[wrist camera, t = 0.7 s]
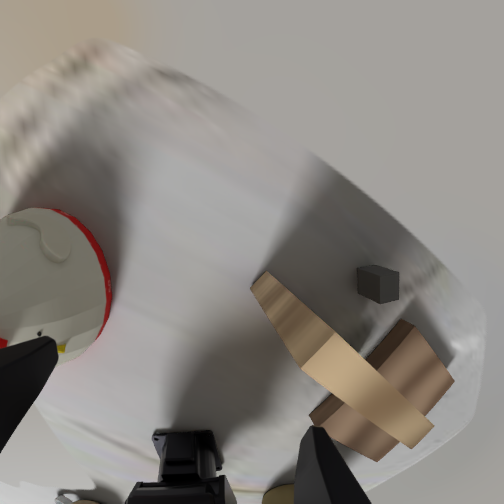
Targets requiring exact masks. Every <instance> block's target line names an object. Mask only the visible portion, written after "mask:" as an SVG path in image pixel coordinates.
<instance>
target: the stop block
mask: <svg viewBox="0 0 504 504" xmlns="http://www.w3.org/2000/svg"><path fill="white" fill-rule="evenodd" d="M357 274H358V293H359V294H361V295H363V296H365V297H367V298H369V299H371V300H373V301H375V302H377V303H379V304H383V303H387V302H391V301H395V300H399V272H397V271H393V270H390V269H387V268H383V267H380V266H377V265H372V266H366V267H360V268H357Z"/></svg>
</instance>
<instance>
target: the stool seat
mask: <svg viewBox="0 0 504 504" xmlns="http://www.w3.org/2000/svg"><path fill="white" fill-rule="evenodd" d="M366 361H367V362H368V363H369V364H370V365H371V366H372V367H373V368H374V369H375V370H376V371H377V372H378V373H379V374H380V375H382V376H383V377H384V378H385V379H386V380H387V381H388V382H389V383H390V384H391V385H392V386H393V387H394V388H395V389H396V390H397V391H398V392H399V393H400V394H402V395H403V396H404V397H405V398H406V399H407V400H408V401H409V402H410V403H411V404H412V405H413V406H414V407H415V408H416V409H417V410H418V411H419V412H420V413H422V414H423V415H424V416H426V414H427V413H428V412H429V411H430V410H431V409H432V408H433V407H434V406H435V404H436V403H437V402H438V401H439V400H440V399H441V397H442V396H443V395H444V394H445V393H446V391H447V390H448V389H449V388H450V387H451V385H452V384H453V383H454V379H453V378H452V376H451V375H450V373H449V372H448V371H447V369H446V368H445V366H444V365H443V363H442V362H441V361H440V359H439V358H438V356H437V355H436V354H435V352H434V351H433V350H432V348H431V347H430V345H429V344H428V343H427V341H426V340H425V339H424V337H423V336H422V335H421V333H420V332H419V331H418V329H417V328H416V327H415V326H414V325H412V324H410V323H408V322H406V321H405V320H403V319H400V321H399V322H398V323H397V324H396V326H395V327H394V328H393V329H392V330H391V332H390V333H389V334H388V335H387V336H386V337H385V339H384V340H383V341H382V342H381V343H380V344H379V345H378V347H377V348H376V349H375V350H374V351H373V352H372V353H371V354H370V355H369V357H368V358H367V359H366ZM309 416H310V418H311V420H312V422H313V423H314V425H315V426H322V427H324V428H325V430H326V432H327V433H328V435H329V436H330V437H331V438H333V439H335V440H336V441H338V442H340V443H342V444H344V445H345V446H347V447H349V448H351V449H353V450H355V451H356V452H358V453H360V454H362V455H364V456H366V457H368V458H370V459H372V460H374V461H376V462H378V461H379V460H380V459H381V458H383V457H384V456H385V455H386V454H387V453H388V452H389V451H390V450H392V449H393V448H394V447H395V446H396V445H397V444H398V443H399V442H400V441H398V440H397V439H395V438H394V437H392V436H391V435H390V434H388V433H387V432H385V431H384V430H382V429H381V428H379V427H378V426H377V425H375V424H374V423H372V422H371V421H370V420H368V419H367V418H365V417H364V416H363V415H361V414H360V413H358V412H357V411H356V410H354V409H353V408H352V407H350V406H349V405H347V404H346V403H345V402H343V401H342V400H341V399H339V398H338V397H337V396H335V395H334V394H333V393H332V394H331V395H330V396H329V397H328V398H327V399H326V400H325V401H324V402H323V403H322V404H321V405H320V406H318V407H317V408H316V409H315V410H314V411H313V412H312V413H311V414H310V415H309Z"/></svg>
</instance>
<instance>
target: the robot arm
mask: <svg viewBox="0 0 504 504" xmlns="http://www.w3.org/2000/svg"><path fill="white" fill-rule="evenodd" d="M58 359H59V355H58V350H57V344H56V341H55V340H54V339H53V338H51V337H49V336H42V337H38V338H35V339H32V340H28V341H25V342H21V343H18V344H15V345H11V346H8V347H4V348H1V349H0V453H1V451H2V450H3V448H4V446H5V445H6V443H7V442H8V440H9V438H10V437H11V435H12V434H13V432H14V431H15V429H16V427H17V426H18V425H19V423H20V422H21V420H22V418H23V417H24V416H25V414H26V413H27V411H28V410H29V408H30V407H31V405H32V404H33V402H34V401H35V400H36V398H37V397H38V395H39V394H40V392H41V391H42V389H43V387H44V385H45V384H46V382H47V380H48V378H49V376H50V375H51V373H52V371H53V369H54V368H55V366H56V364H57V362H58ZM207 434H210V435H207ZM157 438H158V439H157ZM152 441H153V443H154V446H155V448H156V451H157V453H158V455H159V458H160V466H159V475H158V482H151V483H143V482H137V483H136V485H135V486H134V488H133V490H132V491H131V493H130V495H129V496H128V498H127V500H126V501H125V504H237V501H236V498H235V496H234V494H233V491H232V489H231V487H230V485H229V482H228V480H227V478H226V475H219V477H216V471H220V470H222V464H221V461H220V457H219V453H218V449H217V446H216V442H215V438H214V434H213V432H212V431H210V430H205V431H194V432H180V433H160V434H153V435H152ZM294 504H371V502H370V500H369V499H368V497H367V495H366V494H365V492H364V491H363V489H362V488H361V486H360V485H359V483H358V481H357V480H356V478H355V477H354V475H353V473H352V472H351V470H350V469H349V467H348V466H347V464H346V462H345V461H344V459H343V457H342V456H341V454H340V453H339V451H338V449H337V448H336V446H335V445H334V443H333V441H332V440H331V438H330V436H329V435H328V433H327V432H326V430H325V428H324V427H322V426H315V425H312V426H310V427H309V429H308V430H307V432H306V433H305V435H304V436H303V438H302V440H301V443H300V449H299V455H298V462H297V469H296V475H295V482H294Z"/></svg>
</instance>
